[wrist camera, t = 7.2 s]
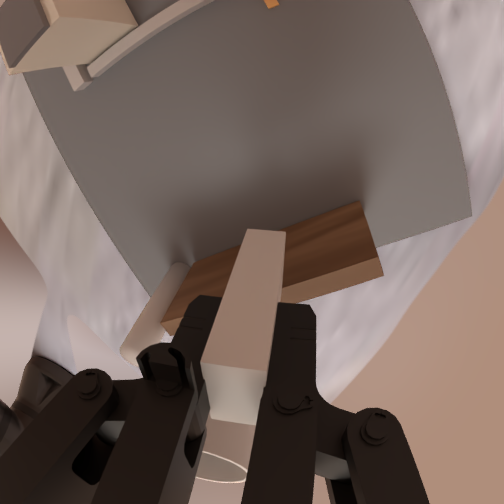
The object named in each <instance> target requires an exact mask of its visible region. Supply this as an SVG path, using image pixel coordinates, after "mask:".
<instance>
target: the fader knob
mask: <svg viewBox="0 0 504 504" xmlns="http://www.w3.org/2000/svg"><path fill="white" fill-rule="evenodd" d="M137 27H138V24H137V22H136V20H135V18H134V16H133V15H132V13H131V11H130V9H129V7H128V5H127V3H126V2H125V0H6V1H5V2H4V3H3V5H2V6H1V7H0V52H1V55H2V58H3V60H4V63H5V66H6V69H7V71H8V74H9V75H13V74H18V73H23V72H29V71H35V70H41V69H47V68H54V67H62V66H71V65H81V64H91V63H92V62H93V61H94V60H95V59H97V58H98V57H99V56H100V55H101V54H103V53H104V52H105V51H106V50H108V49H109V48H110V47H111V46H113V45H114V44H115V43H116V42H118V41H119V40H120V39H122V38H123V37H124V36H126V35H127V34H128V33H130V32H131V31H132V30H134V29H135V28H137Z"/></svg>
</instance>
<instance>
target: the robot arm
mask: <svg viewBox="0 0 504 504" xmlns="http://www.w3.org/2000/svg"><path fill="white" fill-rule="evenodd" d="M285 239H286V232H283V231H271V230H258V229H247V231H246V234H245V237H244V239H243V242H242V245H241V248H240V250H239V253H238V256H237V259H236V262H235V264H234V267H233V270H232V273H231V276H230V278H229V281H228V284H227V287H226V290H225V293H224V295H223V297H215V296H207V295H199V296H198V297H196V298H195V299H194V300H193V301H192V302H191V303H189V305H188V307H187V309H186V311H185V313H184V315H183V318H182V320H181V322H180V324H179V328H177V331H176V333H175V335H174V337H173V339H172V342H171V343H157V344H153V345H150V346H148V347H147V348H145V349H143V350H142V351H141V352H140V353H139V355H138V356H137V357H136V360H137V363H138V365H139V368H140V370H141V373H142V375H143V378H140V379H134V380H112V379H111V377H110V376H109V375H108V374H107V373H106V372H105V371H102V370H99V369H86V370H83V371H80V372H79V373H77V374H76V375H75V376H73V375H71V374H70V373H68V372H67V371H66V370H64V369H63V368H61V367H60V366H58V365H56V364H55V363H53V362H51V361H49V360H47V359H44V358H41V357H32V358H31V359H30V361H29V362H28V363H27V365H26V366H25V369H24V372H23V376H22V380H21V384H20V387H19V392H18V396H17V398H16V400H15V401H14V403H13V404H12V406H11V407H10V408H9V407H8V406H7V405H6V404H5V403H4V402H3V401H2V400H1V399H0V504H188V502H189V499H190V495H191V492H192V488H193V484H194V480H195V477H196V473H197V470H198V466H199V462H200V459H201V455H202V451H203V448H204V444H205V440H206V437H207V428H206V422H207V419H208V415H209V411H210V416H211V419H216V420H222V421H229V422H235V423H242V424H249V425H256V427H255V433H254V438H253V444H252V449H251V455H250V460H249V465H248V471H247V476H246V481H245V486H244V491H243V497H242V501H241V504H312V500H313V487H314V476H315V474H316V475H319V476H322V477H325V480H326V485H327V489H328V494H329V499H330V503H331V504H429V500H428V498H427V494H426V491H425V489H424V486H423V483H422V480H421V477H420V475H419V471H418V469H417V466H416V463H415V461H414V458H413V455H412V453H411V450H410V447H409V445H408V442H407V439H406V437H405V435H404V432H403V429H402V427H401V424H400V423H399V421H398V420H397V418H396V417H395V416H394V415H393V414H391V413H390V412H388V411H387V410H383V409H380V408H366V409H364V410H361V411H359V412H357V413H356V414H355V413H351V412H348V411H345V410H342V409H339V408H337V407H334V406H332V405H330V404H329V403H328V402H326V401H325V400H324V399H323V398H322V397H321V395H320V394H319V392H318V390H317V387H316V315H315V313H314V312H313V310H312V308H311V306H310V305H307V304H295V303H284V302H280V300H281V292H282V281H283V268H284V254H285Z"/></svg>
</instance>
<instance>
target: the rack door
mask: <svg viewBox="0 0 504 504" xmlns="http://www.w3.org/2000/svg"><path fill="white" fill-rule="evenodd" d="M278 231H283V232H286V239H285V254H284V268H283V281H282V292H281V300H280V302H284V303H298V302H302V301H305V300H309V299H312V298H315V297H319V296H322V295H325V294H328V293H332V292H335V291H338V290H341V289H344V288H348V287H351V286H354V285H357V284H360V283H363V282H366V281H369V280H372V279H375V278H378V277H381V276H384V274H383V270H382V267H381V263H380V260H379V257H378V253H377V250H376V247H375V244H374V241H373V237H372V234H371V231H370V228H369V225H368V222H367V219H366V216H365V214H364V211H363V208H362V205H361V203H360V200H359V201H356V202H353V203H350V204H348V205H345V206H342V207H340V208H337V209H334V210H332V211H329V212H326V213H323V214H321V215H318V216H315V217H313V218H310V219H307V220H305V221H302V222H299V223H297V224H294V225H291V226H289V227H286V228H283V229H281V230H278ZM241 245H242V244H241ZM241 245H238V246H236V247H233V248H231V249H228V250H225V251H223V252H220V253H217V254H215V255H212V256H210V257H207V258H204V259H202V260H199V261H197V262H194V263H193V265H192V266H191V268H190V270H189V272H188V273H187V275H186V277H185V279H184V280H183V282H182V284H181V286H180V288H179V289H178V291H177V293H176V295H175V297H174V298H173V300H172V302H171V304H170V306H169V307H168V309H167V311H166V313H165V315H164V316H163V318H162V320H161V322H160V324H161V325H162V326H163V328H164V329H165V330H166V331H167V332H168V334H169V335H170V336H172V335H175V333H176V331H177V328H179V324H180V322H181V320H182V318H183V315H184V313H185V311H186V309H187V307H188V305H189V303H191V302H192V301H193V300H194V299H195V298H196V297H198V296H199V295H207V296H215V297H223V295H224V293H225V290H226V287H227V284H228V281H229V278H230V276H231V273H232V270H233V267H234V264H235V262H236V259H237V256H238V253H239V250H240V248H241Z"/></svg>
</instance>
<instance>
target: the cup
mask: <svg viewBox="0 0 504 504" xmlns="http://www.w3.org/2000/svg"><path fill="white" fill-rule="evenodd" d="M255 427H256V425H249V424H242V423H235V422H229V421H222V420H216V419H211V416H210V411H209V415H208V419H207V422H206V428H207V437H206V440H205V444H204V448H203V451H202V455H201V459H200V462H199V466H198V470H197V473H196V478H199V479H203V480H208V481H215V482H223V483H239V482H244V481H246V476H247V471H248V465H249V460H250V455H251V449H252V444H253V438H254V433H255Z"/></svg>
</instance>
